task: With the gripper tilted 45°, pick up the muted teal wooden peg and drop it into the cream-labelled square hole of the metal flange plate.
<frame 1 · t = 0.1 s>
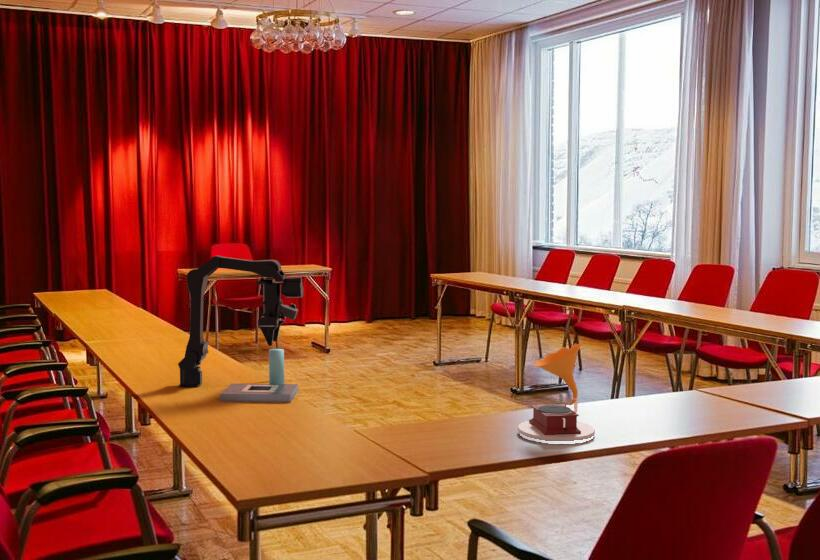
hand: (272, 343, 305), 15 cm above the table, tool pointing down, fingers open, 9 cm apart
gramophone: (556, 435, 244), on the table
teal peg: (276, 388, 303), on the table
flange plate: (260, 396, 290), on the table
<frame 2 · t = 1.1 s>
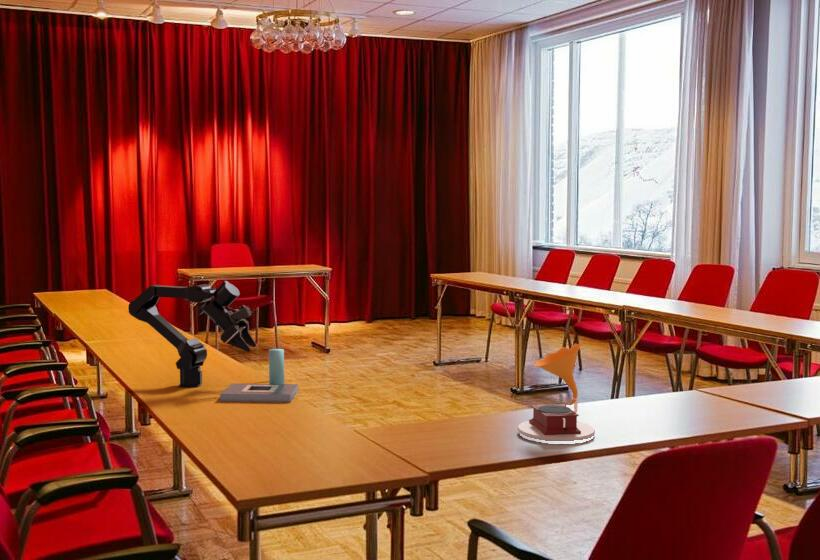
hand: (252, 348, 302), 13 cm above the table, tool tilted 45°, fingers open, 9 cm apart
nothing on the table moved.
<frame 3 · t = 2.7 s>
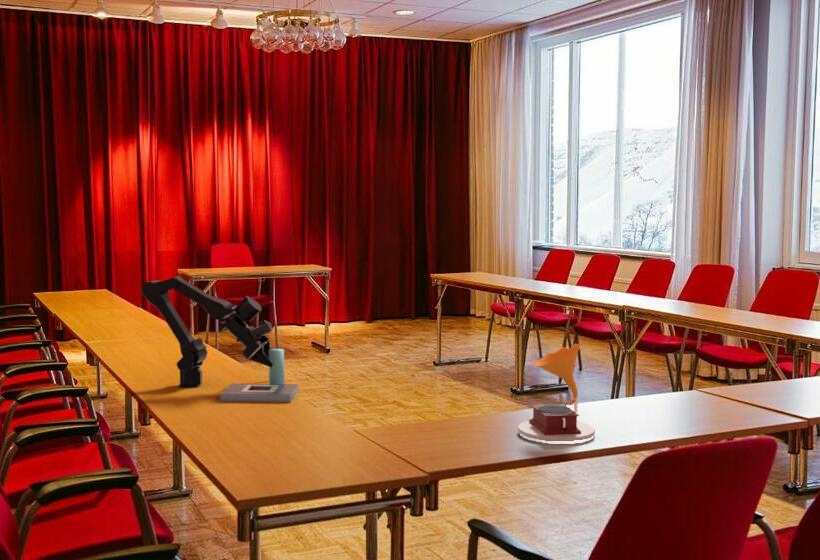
hand: (274, 363, 302), 8 cm above the table, tool tilted 45°, fingers open, 9 cm apart
nothing on the table moved.
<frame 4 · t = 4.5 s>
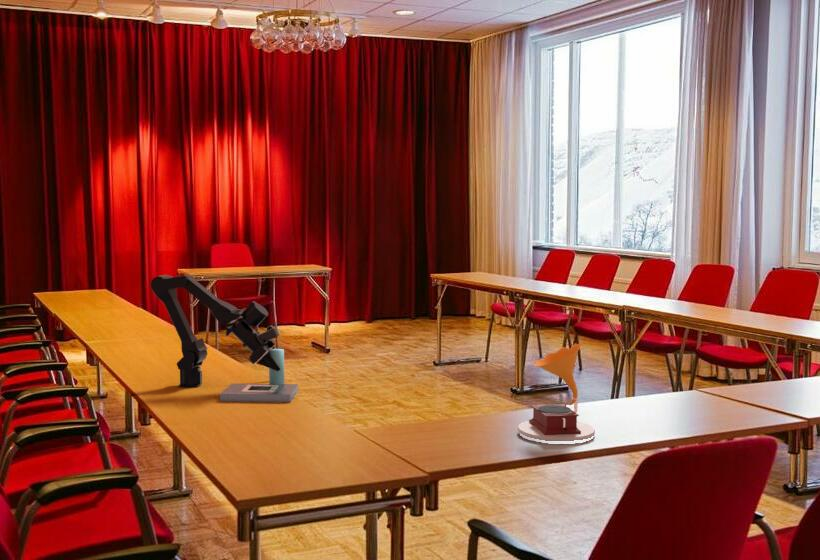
hand: (280, 368, 302), 7 cm above the table, tool tilted 45°, fingers closed on teal peg, 5 cm apart
teal peg: (276, 388, 303), on the table, touching gripper
everything else where it was.
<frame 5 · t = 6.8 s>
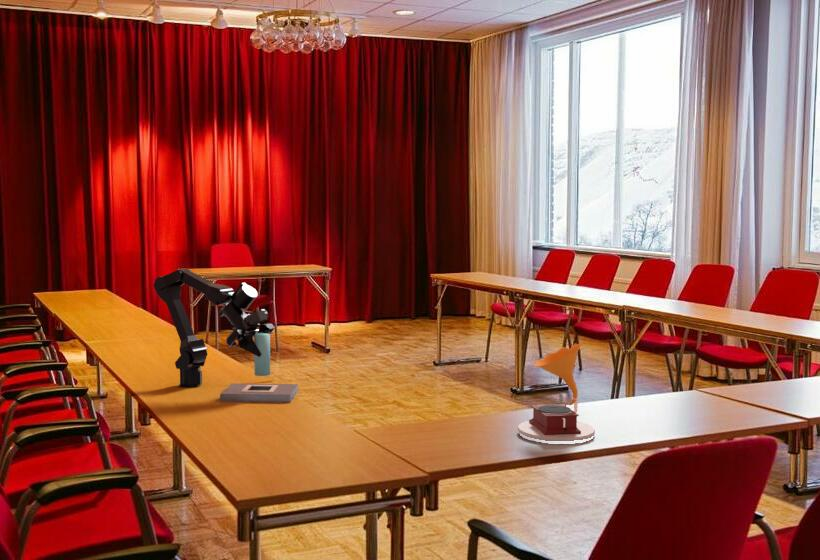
hand: (265, 354, 289), 14 cm above the table, tool tilted 45°, fingers closed on teal peg, 5 cm apart
teal peg: (262, 374, 291), point 7 cm above the table, touching gripper
everything else where it was.
when the fingers open (8 cm above the table, at t = 9.1 s): teal peg drops 1 cm, resting in flange plate.
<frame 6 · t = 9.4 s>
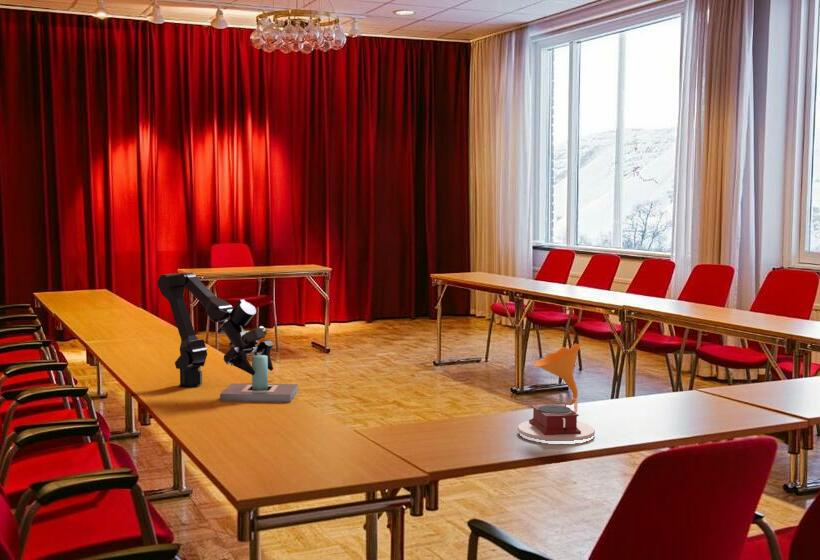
hand: (263, 372, 289), 8 cm above the table, tool tilted 45°, fingers open, 8 cm apart
teal peg: (260, 396, 290), resting in flange plate
everything else where it was.
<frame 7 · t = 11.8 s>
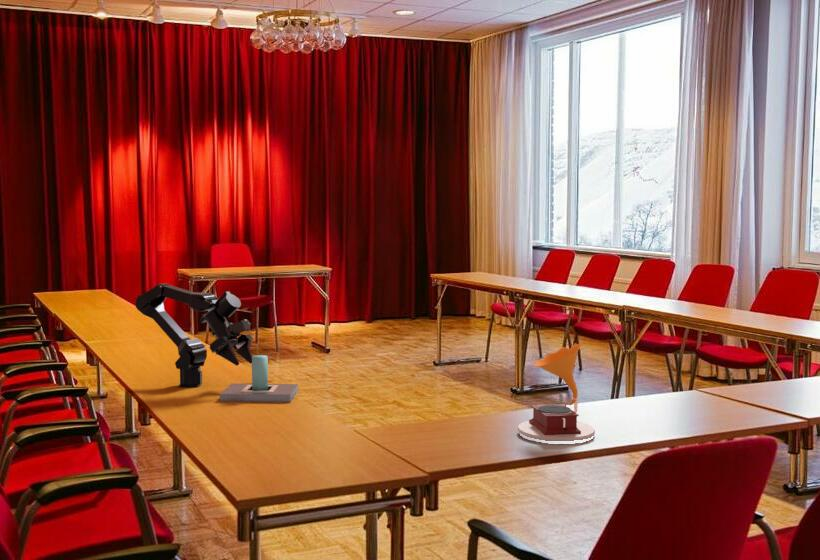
hand: (245, 363, 296), 9 cm above the table, tool tilted 40°, fingers open, 9 cm apart
nothing on the table moved.
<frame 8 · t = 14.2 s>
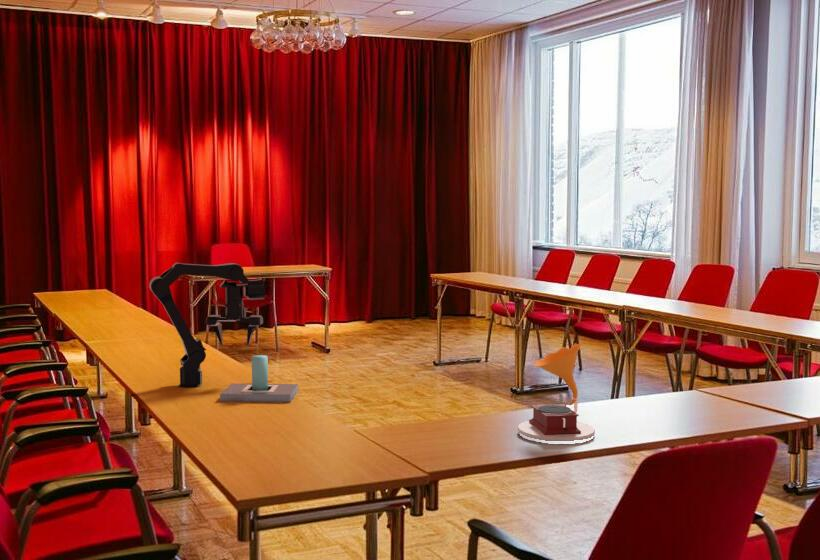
hand: (235, 345, 311), 13 cm above the table, tool pointing down, fingers open, 9 cm apart
nothing on the table moved.
at the end: teal peg 0.0 cm off-centre on the flange plate, point 0.0 cm above the flange plate's base; teal peg tilted 0°; the gripper is holding nothing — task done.
